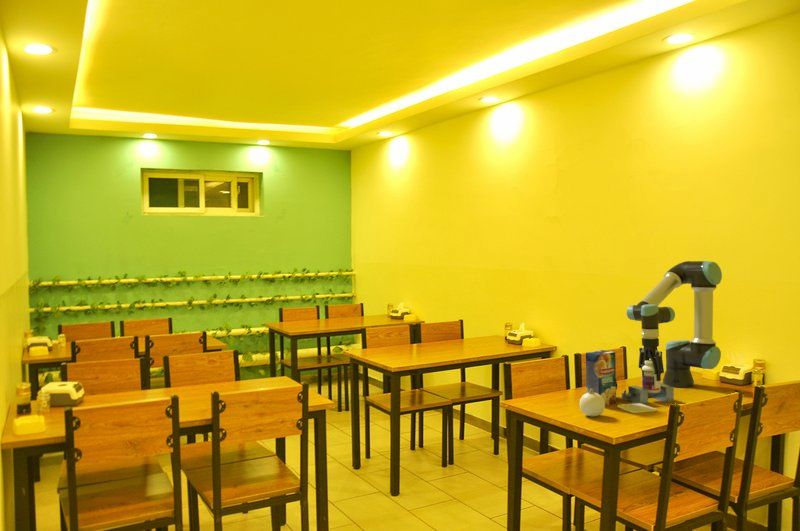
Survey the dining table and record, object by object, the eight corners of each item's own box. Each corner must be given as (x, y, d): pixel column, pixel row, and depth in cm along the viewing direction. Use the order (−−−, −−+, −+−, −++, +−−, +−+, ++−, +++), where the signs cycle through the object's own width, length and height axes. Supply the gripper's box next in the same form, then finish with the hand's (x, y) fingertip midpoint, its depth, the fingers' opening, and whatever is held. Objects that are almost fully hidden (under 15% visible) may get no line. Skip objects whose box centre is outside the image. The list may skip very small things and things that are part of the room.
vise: (653, 395, 314) (653, 381, 314) (673, 401, 300) (673, 386, 300) (611, 399, 308) (611, 384, 308) (630, 406, 294) (629, 390, 294)
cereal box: (599, 407, 293) (598, 354, 292) (586, 404, 299) (585, 352, 299) (616, 403, 300) (615, 352, 299) (603, 400, 306) (602, 350, 305)
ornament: (590, 420, 271) (590, 392, 271) (575, 414, 280) (574, 387, 280) (609, 417, 275) (609, 389, 275) (593, 412, 285) (593, 385, 284)
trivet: (639, 404, 296) (639, 403, 296) (656, 410, 284) (656, 409, 284) (617, 407, 292) (617, 405, 292) (633, 413, 281) (633, 411, 281)
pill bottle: (647, 388, 308) (646, 359, 307) (663, 391, 302) (662, 360, 302) (639, 392, 302) (638, 361, 302) (656, 394, 296) (655, 363, 296)
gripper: (629, 335, 310) (630, 382, 311) (657, 341, 290) (659, 391, 291) (643, 334, 312) (644, 380, 313) (672, 339, 292) (673, 389, 293)
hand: (651, 385), depth 302 cm, fingers closed on pill bottle, 8 cm apart
